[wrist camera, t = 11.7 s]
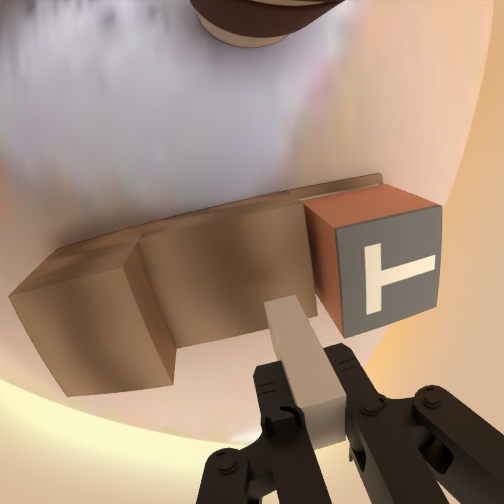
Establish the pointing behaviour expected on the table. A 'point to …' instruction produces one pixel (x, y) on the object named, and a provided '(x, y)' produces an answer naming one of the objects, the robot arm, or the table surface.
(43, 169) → the table surface
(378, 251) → the block
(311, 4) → the coffee cup
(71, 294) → the stair
